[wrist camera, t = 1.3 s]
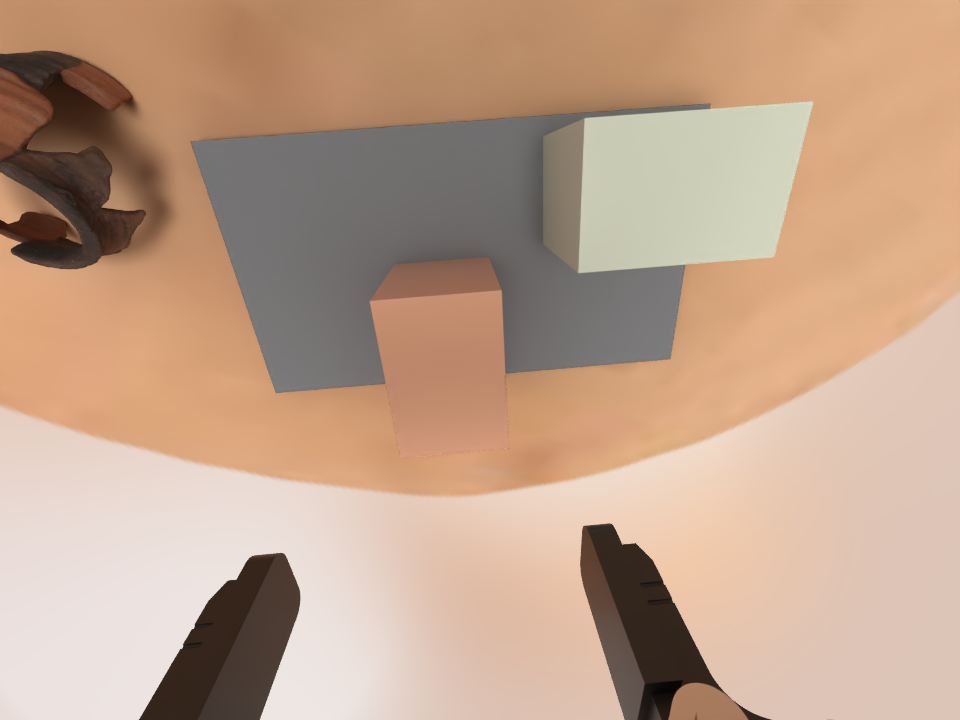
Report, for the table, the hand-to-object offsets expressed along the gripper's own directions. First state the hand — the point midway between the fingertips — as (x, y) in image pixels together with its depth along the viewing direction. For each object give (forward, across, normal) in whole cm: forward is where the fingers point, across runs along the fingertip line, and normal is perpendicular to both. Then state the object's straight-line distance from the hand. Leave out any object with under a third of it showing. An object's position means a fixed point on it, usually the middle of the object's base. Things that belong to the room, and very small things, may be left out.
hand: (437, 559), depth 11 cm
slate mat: (+19, -2, -4) cm, 19 cm away
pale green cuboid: (+18, -11, -8) cm, 23 cm away
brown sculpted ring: (+19, +20, -12) cm, 31 cm away
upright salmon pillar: (+18, 0, 0) cm, 18 cm away
